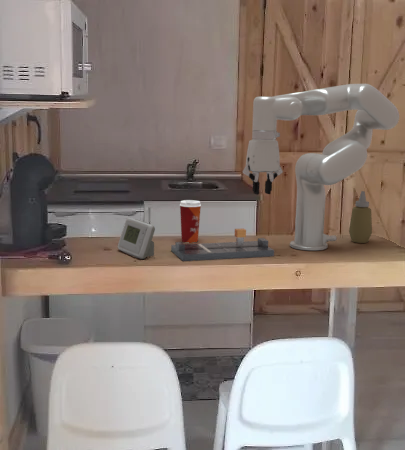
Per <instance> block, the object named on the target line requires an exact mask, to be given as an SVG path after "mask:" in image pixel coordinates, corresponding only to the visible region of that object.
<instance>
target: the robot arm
mask: <svg viewBox="0 0 405 450" xmlns="http://www.w3.org/2000/svg"><path fill="white" fill-rule="evenodd" d="M252 104H253V107H252V133H251V134H252V135H251V136H252V137H251V138H252V139H251V140H249V141H248V144H247V151H246V157H245V158H246V160H245V166H244V168H243V170H242V174H244V175H246V177H247V176H248V178H249V180H251V181H252V192H253V194H255V195H256V196H257V195H259V194H260V184H261V183H260V182H259V176H260V173H266V180H265V181H264V193H265V194H267V195H271V194H272V193H271V192H272V191H273V182H274V180H276V179H277V177H278V176H280V175H281V174H283V173H284V170H283V169H282V167H281V165H280V147H279V141H278V140H277V138H280V137H281V133H280V132H278V130H277V123H278V120H279V121H295V120H297V119H299V118H300V116H323V115H324V116H326V115H331V114H335V113H341V112H345V111H346V112H347V111H352V110H353V111H354V110H355V111H356V110H357V111H356V112H355V115H354V120H353V121H354V122H353V126H352V128H351V129H350V130H349V131H348V132H346V133H345V134H343V135H341V136H339V137H337V138H336V139H334V140H333V141H330V142H329V143H327V145H326V146H325V147H324V148H323V150H322V153H314V152H311V153H309V152H308V153H304V154H302V155H300V157H299V158H298V159H297V160H296V163H295V166H294V167H295V168H294V173H295V179H296V203H295V204H296V205H295V208H296V209H295V223H294V224H295V225H294V226H295V227H294V240H291V241H289V246H290V247H291V248H293V249H296V250H301V251H323V250H327V248H328V242H337V236H336V235H334V234H333V235H329V234H326V233H324V229H325V213H326V198H327V197H326V196H327V195H326V188H325V186H332V185H333V186H334V185H335V184H338V183H339V182H341V181H343V180H345V179H346V178H348V177H349V176H351V175H353V174H355V173H356V172H357V171H359V170H360V169H362V168H363V167H364V165H365V164H366V161H367V159H368V151H367V149H369V148H370V146H371V144H372V138H373V130H383V131H384V130H385V131H387V130H391V129H393V128H395V127H396V126H397V125H398V124H399V121H400V113H399V109H398V108H397V107H396V105H395V104H394V103H393V102H392V101H391V100H389V99H388V97H386V96H385V95H384V94H383V93H382V92H381V90H379V89H377V88H376V87H375V86H373V85H371V84H369V83H348V84H341V85H335V86H329V87H324V88H317V89H310V90H306V91H300V92H292V93H286V94H280V95H278V94H277V95H273V96H264V95H263V96H256V97H255V98H254V99H253V103H252Z"/></svg>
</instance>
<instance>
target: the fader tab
mask: <svg viewBox="0 0 405 450" xmlns="http://www.w3.org/2000/svg"><path fill="white" fill-rule="evenodd" d="M234 237H235V239H236V241H235V242H236V245H237V246H244V242H245V238H247V229H245V228H234Z"/></svg>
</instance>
